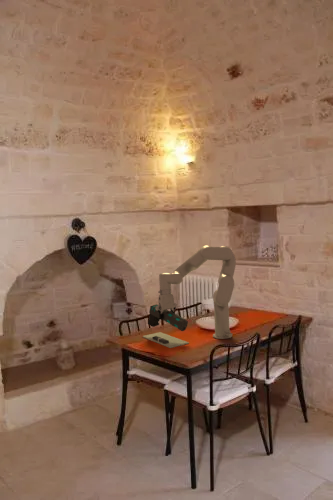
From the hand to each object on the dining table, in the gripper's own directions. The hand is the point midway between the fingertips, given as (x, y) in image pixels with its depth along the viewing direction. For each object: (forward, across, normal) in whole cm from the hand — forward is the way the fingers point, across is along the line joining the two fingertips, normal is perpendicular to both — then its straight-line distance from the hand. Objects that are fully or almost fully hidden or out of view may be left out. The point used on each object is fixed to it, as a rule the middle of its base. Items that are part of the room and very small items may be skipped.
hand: (166, 318), depth 315 cm
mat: (+14, -2, 0) cm, 15 cm away
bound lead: (+14, -7, -2) cm, 15 cm away
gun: (+7, 0, 0) cm, 7 cm away
